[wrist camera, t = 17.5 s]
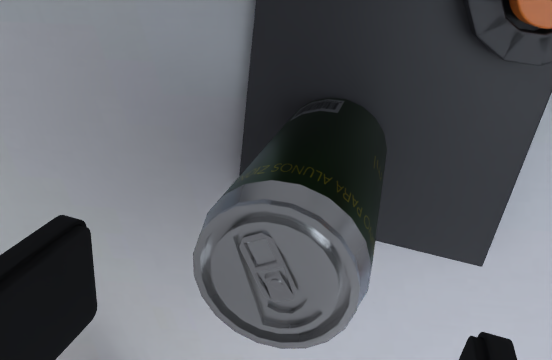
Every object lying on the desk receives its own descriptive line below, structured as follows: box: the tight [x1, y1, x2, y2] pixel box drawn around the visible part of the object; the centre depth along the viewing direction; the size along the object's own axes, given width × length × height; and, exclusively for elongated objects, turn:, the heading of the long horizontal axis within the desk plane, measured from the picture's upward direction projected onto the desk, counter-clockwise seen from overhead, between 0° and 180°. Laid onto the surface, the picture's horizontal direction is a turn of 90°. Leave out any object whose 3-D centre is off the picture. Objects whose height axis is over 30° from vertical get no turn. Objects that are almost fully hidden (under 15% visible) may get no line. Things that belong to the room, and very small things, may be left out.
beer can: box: [193, 97, 387, 349], centre depth 18 cm, size 5×5×12 cm
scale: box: [240, 0, 552, 266], centre depth 21 cm, size 16×15×3 cm
